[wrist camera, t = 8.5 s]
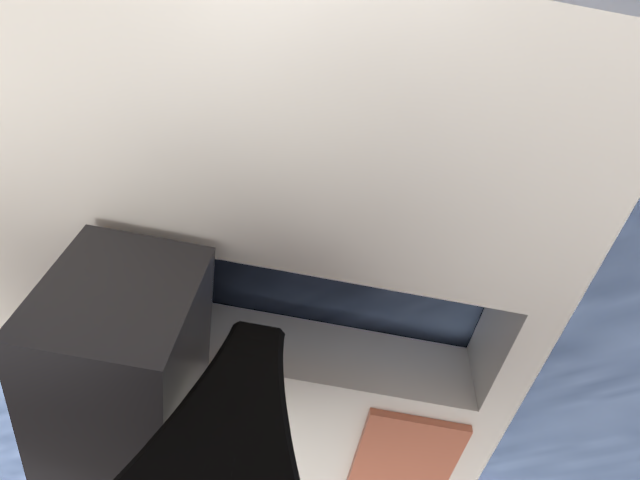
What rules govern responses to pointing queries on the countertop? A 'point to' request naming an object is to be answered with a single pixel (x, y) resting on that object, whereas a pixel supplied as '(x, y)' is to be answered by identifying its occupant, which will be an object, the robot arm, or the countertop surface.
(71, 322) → the switch handle
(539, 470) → the countertop surface
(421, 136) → the switch board
